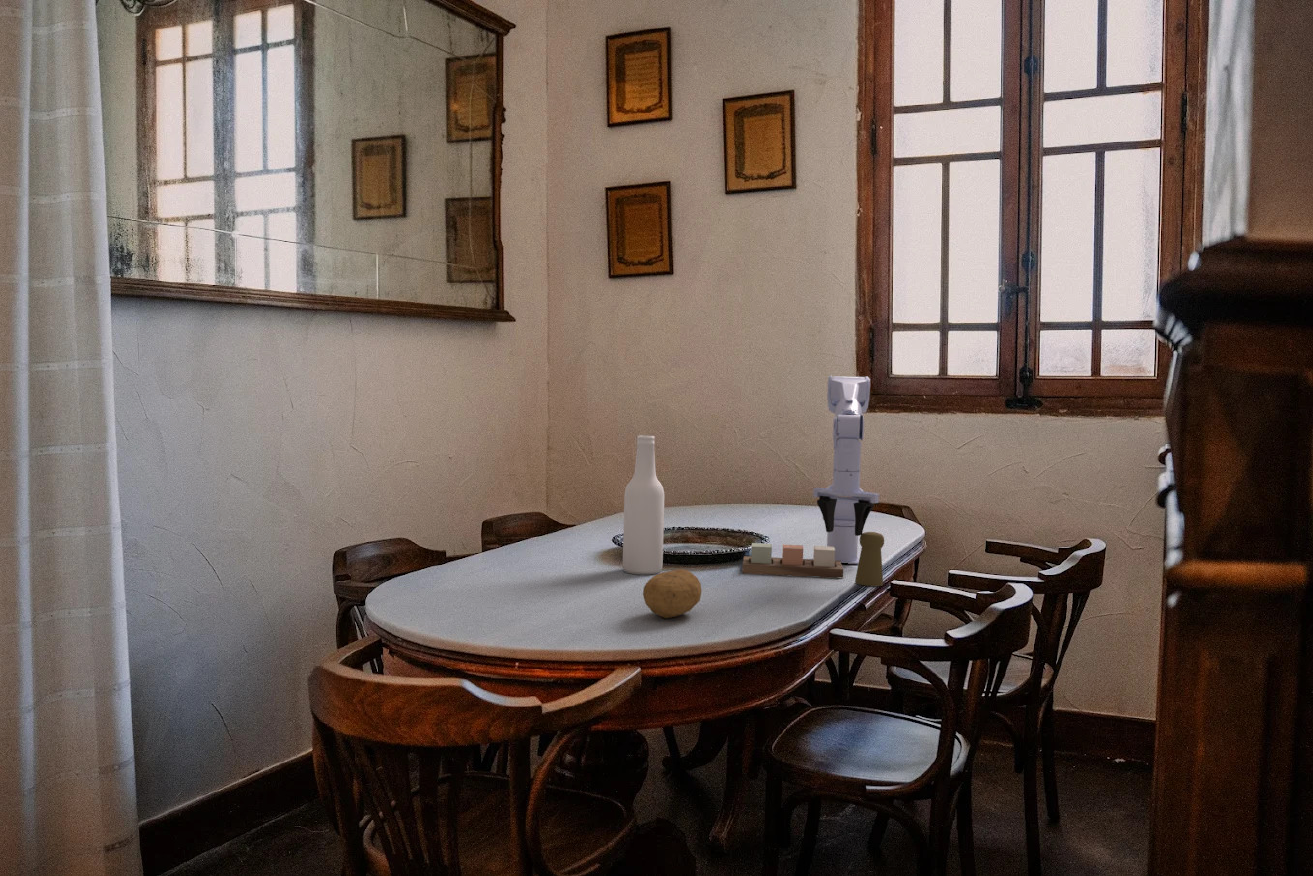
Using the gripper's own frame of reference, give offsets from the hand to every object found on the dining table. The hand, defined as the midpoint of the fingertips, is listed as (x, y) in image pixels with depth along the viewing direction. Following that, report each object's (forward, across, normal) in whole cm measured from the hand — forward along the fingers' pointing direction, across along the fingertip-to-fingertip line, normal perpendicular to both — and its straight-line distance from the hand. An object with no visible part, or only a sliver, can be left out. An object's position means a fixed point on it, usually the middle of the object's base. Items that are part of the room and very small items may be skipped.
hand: (844, 533), depth 222 cm
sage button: (+9, -19, -1) cm, 21 cm away
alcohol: (+11, -38, -21) cm, 45 cm away
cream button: (+9, -7, +6) cm, 13 cm away
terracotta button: (+9, -13, +2) cm, 16 cm away
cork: (+11, +5, +2) cm, 12 cm away
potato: (+11, -10, -50) cm, 52 cm away
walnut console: (+10, -13, +2) cm, 17 cm away
